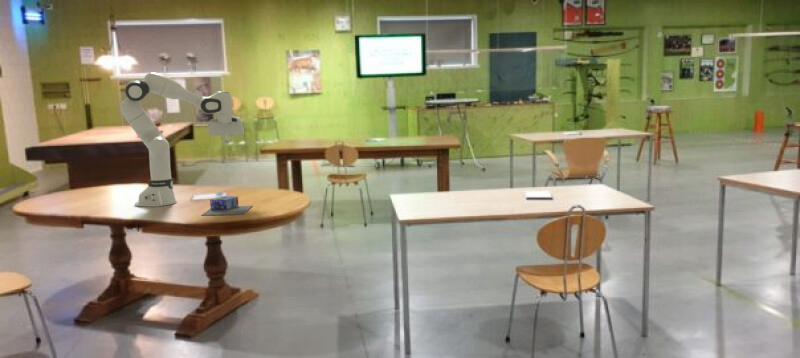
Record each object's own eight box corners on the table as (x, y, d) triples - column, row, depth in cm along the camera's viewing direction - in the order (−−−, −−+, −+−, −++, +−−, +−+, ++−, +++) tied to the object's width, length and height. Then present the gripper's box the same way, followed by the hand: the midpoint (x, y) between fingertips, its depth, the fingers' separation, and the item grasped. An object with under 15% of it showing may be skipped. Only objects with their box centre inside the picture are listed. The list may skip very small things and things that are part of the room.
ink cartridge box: (238, 195, 354) (220, 201, 341) (239, 205, 355) (221, 211, 342) (224, 194, 358) (206, 200, 345) (225, 204, 359) (207, 210, 346)
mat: (201, 215, 334) (201, 214, 334) (212, 207, 354) (212, 206, 354) (243, 214, 334) (243, 213, 334) (252, 206, 354) (252, 205, 353)
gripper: (206, 119, 369) (207, 143, 372) (241, 118, 369) (242, 142, 371) (209, 118, 376) (211, 142, 378) (244, 118, 375) (245, 141, 378)
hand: (227, 142), depth 375 cm, fingers closed
